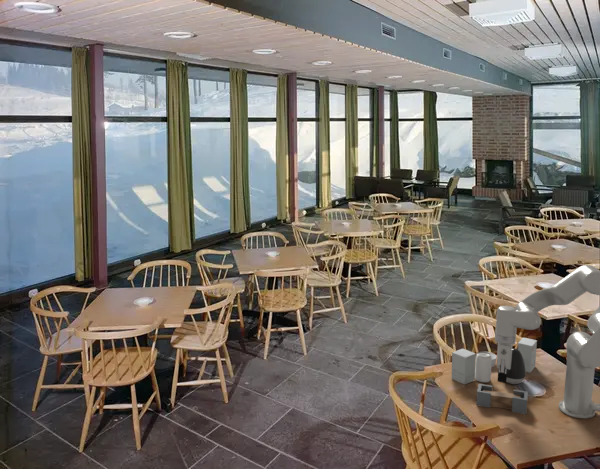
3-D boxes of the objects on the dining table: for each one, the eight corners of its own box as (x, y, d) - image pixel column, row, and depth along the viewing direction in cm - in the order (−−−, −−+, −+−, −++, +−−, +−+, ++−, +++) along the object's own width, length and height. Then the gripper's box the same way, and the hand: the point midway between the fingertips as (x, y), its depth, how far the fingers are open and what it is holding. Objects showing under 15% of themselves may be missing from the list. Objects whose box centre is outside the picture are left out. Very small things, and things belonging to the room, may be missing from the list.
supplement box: (475, 380, 231) (476, 353, 228) (464, 385, 227) (465, 357, 224) (461, 374, 237) (462, 347, 234) (450, 378, 233) (451, 352, 230)
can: (491, 383, 227) (492, 357, 225) (475, 382, 229) (477, 356, 226) (489, 376, 234) (490, 351, 231) (474, 375, 235) (475, 350, 232)
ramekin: (500, 366, 243) (500, 357, 242) (483, 369, 241) (484, 360, 240) (488, 358, 252) (488, 350, 251) (472, 361, 249) (472, 352, 248)
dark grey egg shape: (495, 381, 229) (497, 348, 226) (507, 373, 236) (509, 342, 233) (517, 389, 222) (520, 356, 219) (529, 381, 228) (531, 348, 225)
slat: (519, 406, 209) (520, 394, 208) (520, 410, 206) (520, 399, 205) (482, 401, 214) (482, 389, 213) (482, 405, 210) (482, 394, 209)
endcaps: (526, 405, 209) (527, 391, 208) (526, 414, 203) (527, 400, 202) (478, 397, 216) (478, 383, 215) (476, 405, 210) (477, 391, 209)
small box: (521, 363, 246) (522, 337, 244) (535, 366, 242) (537, 340, 240) (515, 369, 240) (517, 342, 237) (530, 373, 236) (532, 346, 233)
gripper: (514, 346, 196) (511, 391, 199) (516, 332, 209) (513, 375, 213) (493, 343, 199) (490, 388, 202) (496, 329, 212) (493, 371, 216)
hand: (501, 381), depth 208 cm, fingers closed
